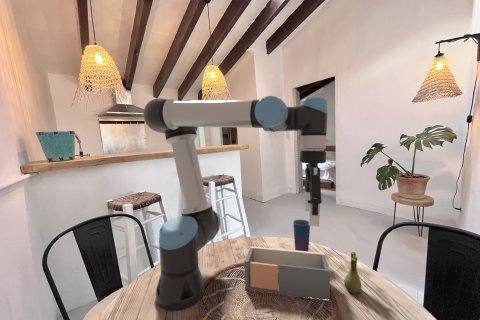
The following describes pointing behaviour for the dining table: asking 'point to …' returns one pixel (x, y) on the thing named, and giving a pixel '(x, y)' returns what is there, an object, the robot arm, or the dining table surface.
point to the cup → (301, 234)
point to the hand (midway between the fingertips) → (311, 217)
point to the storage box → (293, 271)
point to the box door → (264, 275)
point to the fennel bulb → (353, 276)
